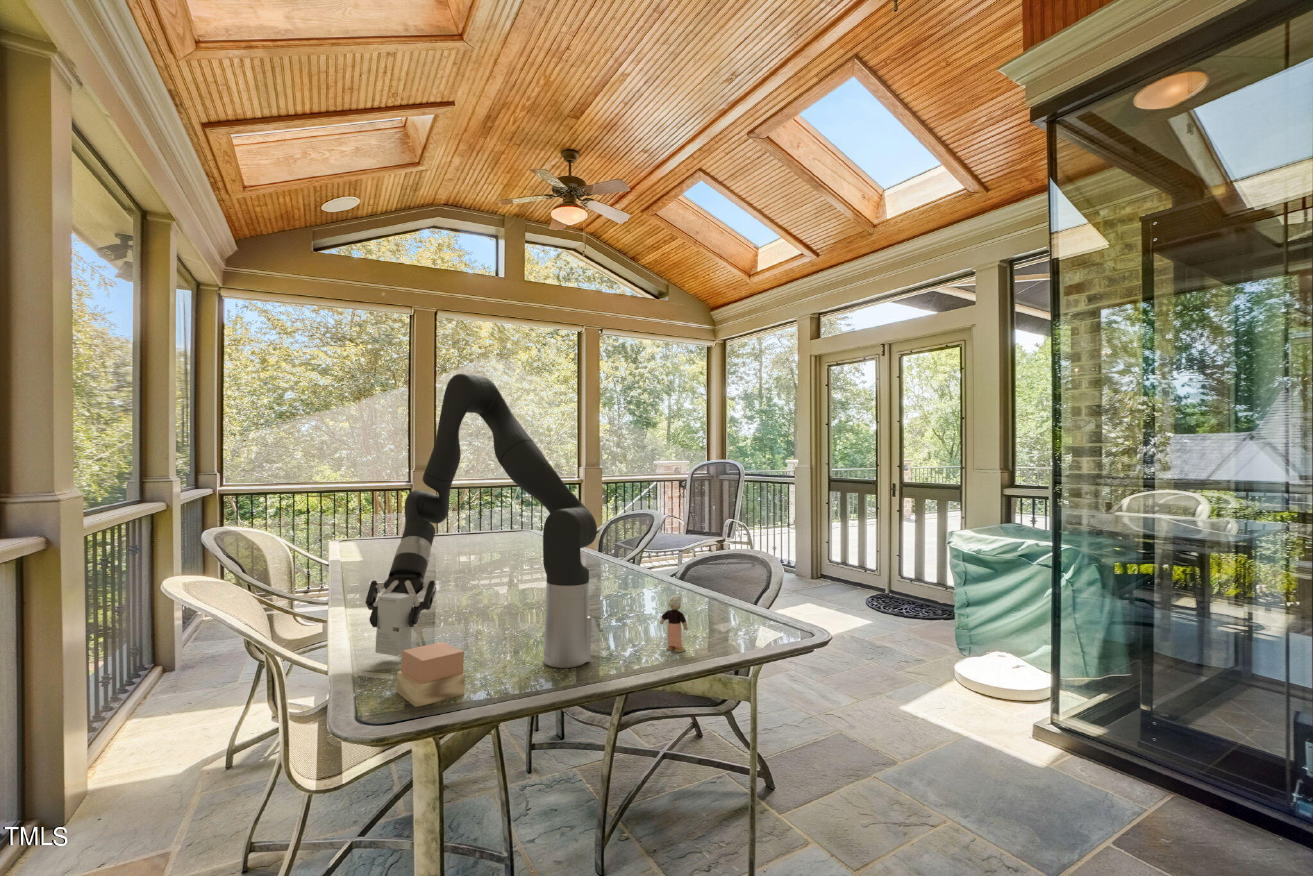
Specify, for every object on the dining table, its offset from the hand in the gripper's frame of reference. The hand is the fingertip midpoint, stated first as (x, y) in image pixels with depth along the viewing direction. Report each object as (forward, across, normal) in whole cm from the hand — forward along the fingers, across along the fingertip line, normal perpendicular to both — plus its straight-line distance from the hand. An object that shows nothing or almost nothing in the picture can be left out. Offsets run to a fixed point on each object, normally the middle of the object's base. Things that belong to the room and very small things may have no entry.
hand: (392, 625), depth 129 cm
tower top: (+15, +13, -9) cm, 22 cm away
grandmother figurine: (0, +61, +13) cm, 63 cm away
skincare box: (+3, 0, +6) cm, 6 cm away
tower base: (+18, +13, -6) cm, 23 cm away
